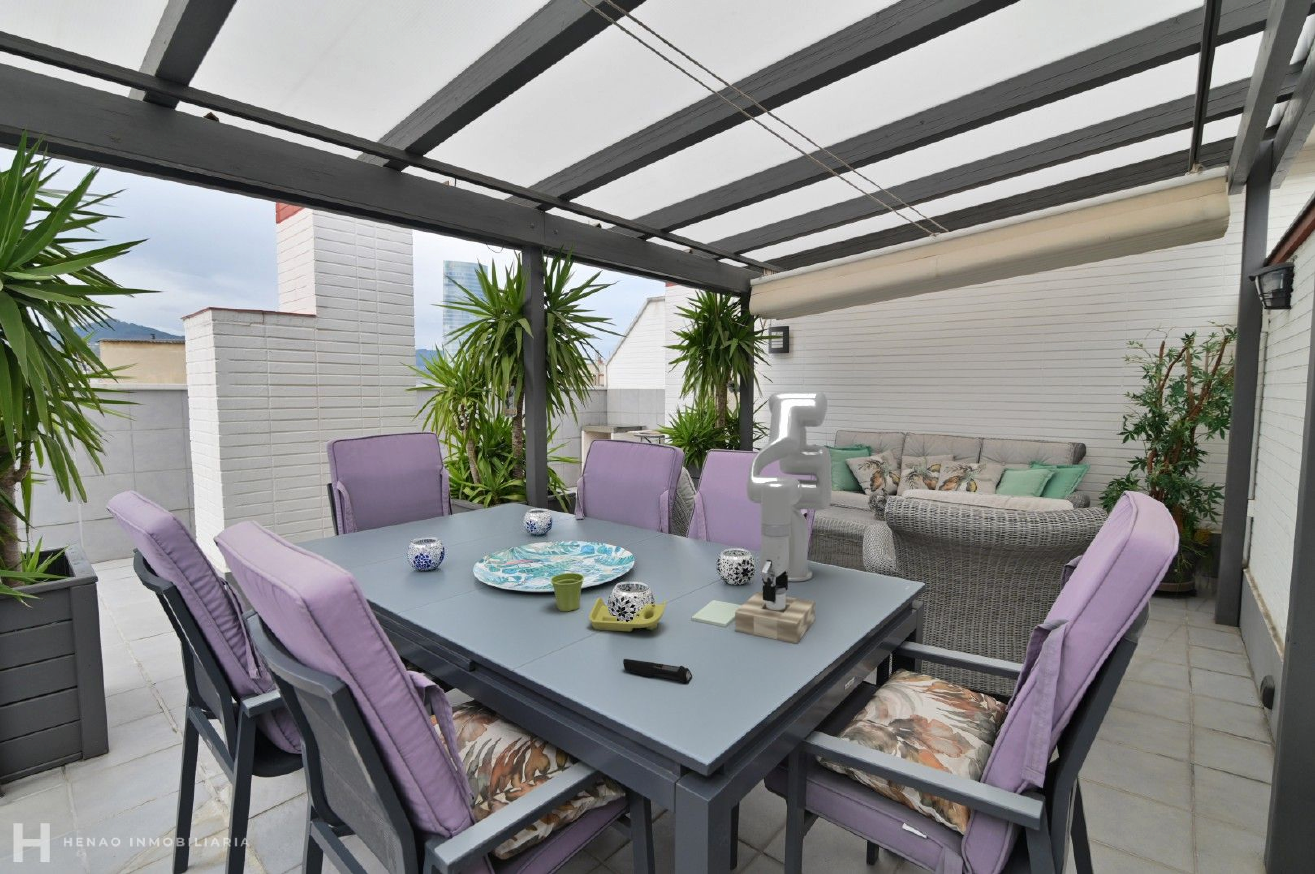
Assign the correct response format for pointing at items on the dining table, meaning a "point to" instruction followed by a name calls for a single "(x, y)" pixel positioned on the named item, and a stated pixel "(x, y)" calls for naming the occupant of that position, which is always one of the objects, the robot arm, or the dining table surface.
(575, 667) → the dining table surface
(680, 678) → the electric trimmer
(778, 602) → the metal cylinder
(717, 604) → the mat
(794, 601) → the bore block
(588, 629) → the dining table surface
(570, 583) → the plant pot
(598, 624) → the plastic component
